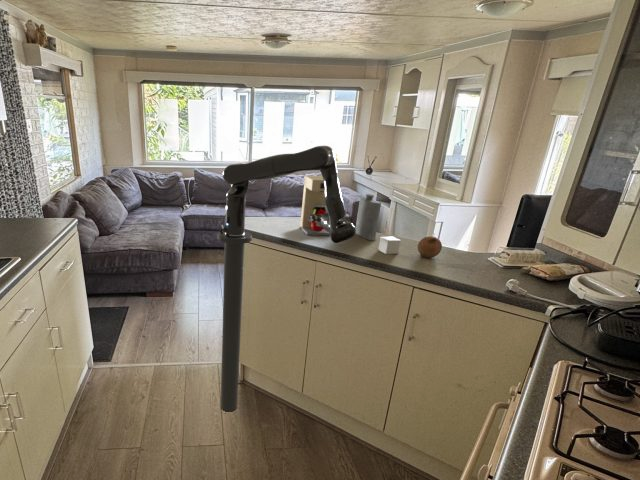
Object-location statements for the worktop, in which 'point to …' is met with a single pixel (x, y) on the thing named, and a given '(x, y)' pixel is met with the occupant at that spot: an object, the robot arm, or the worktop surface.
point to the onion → (429, 246)
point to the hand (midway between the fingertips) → (320, 215)
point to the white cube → (389, 245)
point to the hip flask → (367, 217)
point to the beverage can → (321, 211)
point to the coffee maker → (312, 202)
